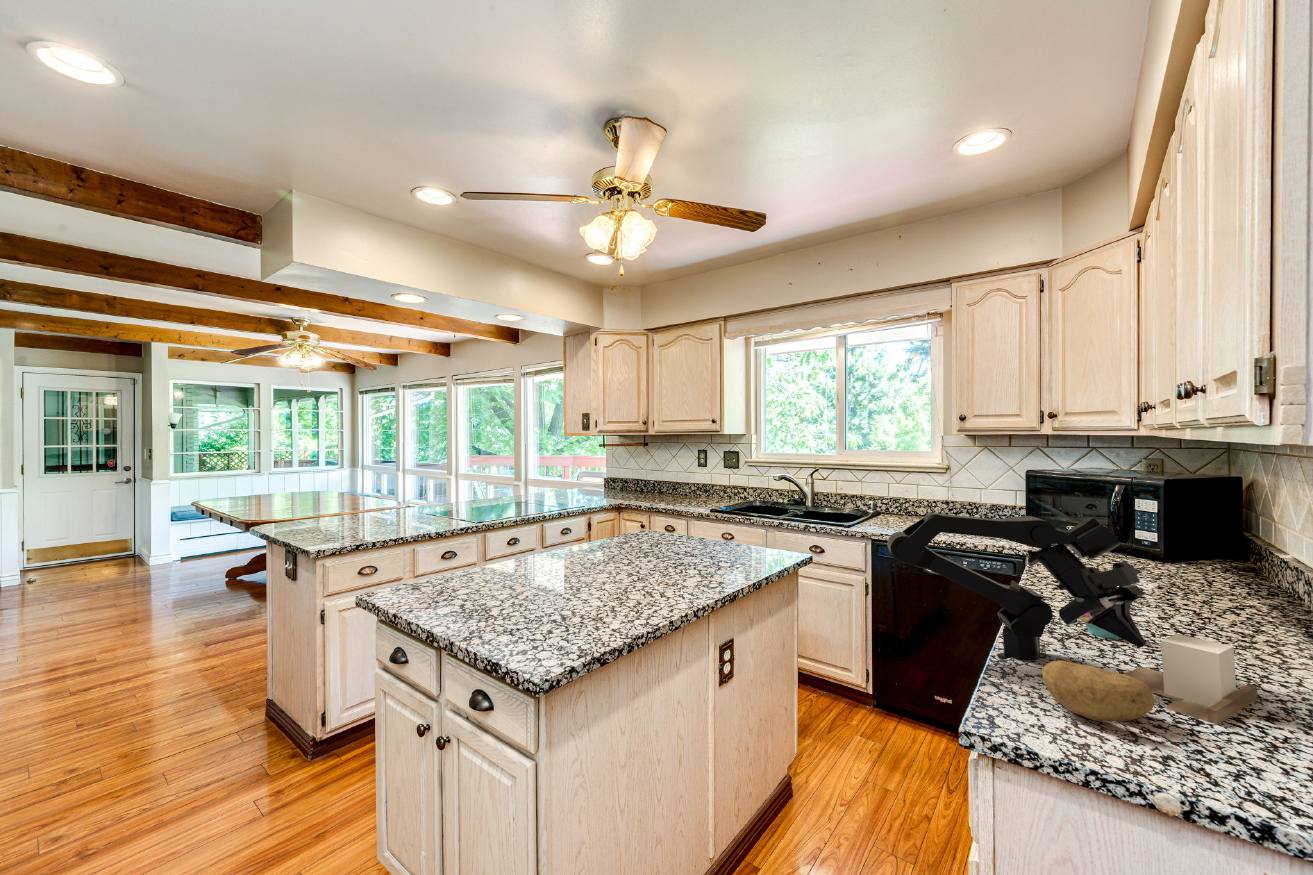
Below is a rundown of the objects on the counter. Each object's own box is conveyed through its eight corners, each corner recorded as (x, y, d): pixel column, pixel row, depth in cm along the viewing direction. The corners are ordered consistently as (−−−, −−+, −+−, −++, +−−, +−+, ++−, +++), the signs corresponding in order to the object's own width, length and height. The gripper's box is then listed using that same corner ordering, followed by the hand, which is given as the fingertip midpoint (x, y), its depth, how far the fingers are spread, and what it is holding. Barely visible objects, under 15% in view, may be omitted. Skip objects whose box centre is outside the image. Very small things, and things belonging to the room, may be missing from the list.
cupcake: (1138, 645, 112) (1134, 589, 113) (1093, 644, 114) (1090, 589, 114) (1112, 631, 121) (1109, 579, 121) (1070, 630, 122) (1067, 579, 123)
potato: (1158, 746, 76) (1154, 690, 76) (1039, 715, 86) (1036, 666, 86) (1157, 719, 83) (1153, 668, 83) (1048, 694, 93) (1045, 648, 93)
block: (1164, 693, 89) (1161, 640, 89) (1179, 685, 92) (1176, 633, 92) (1222, 710, 83) (1218, 653, 83) (1237, 701, 86) (1233, 646, 86)
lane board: (1097, 691, 93) (1096, 674, 93) (1141, 671, 100) (1140, 655, 100) (1217, 731, 79) (1216, 711, 79) (1258, 704, 86) (1256, 686, 86)
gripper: (1074, 553, 95) (1155, 633, 85) (1129, 542, 103) (1209, 614, 92) (1030, 587, 102) (1100, 664, 92) (1085, 574, 110) (1155, 644, 99)
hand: (1143, 646), depth 94 cm, fingers closed
